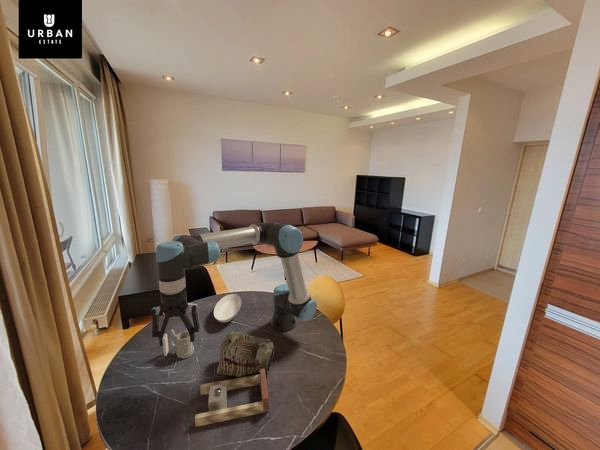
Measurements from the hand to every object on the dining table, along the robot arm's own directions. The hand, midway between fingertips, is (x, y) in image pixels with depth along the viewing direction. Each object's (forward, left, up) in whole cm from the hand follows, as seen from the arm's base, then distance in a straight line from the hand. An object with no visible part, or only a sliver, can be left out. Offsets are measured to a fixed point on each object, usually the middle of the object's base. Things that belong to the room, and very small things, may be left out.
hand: (178, 351), depth 84 cm
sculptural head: (-22, -16, -25) cm, 37 cm away
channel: (-18, 0, -25) cm, 31 cm away
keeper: (-12, 0, -25) cm, 28 cm away
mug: (+7, -32, -25) cm, 41 cm away
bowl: (-14, -61, -25) cm, 67 cm away
